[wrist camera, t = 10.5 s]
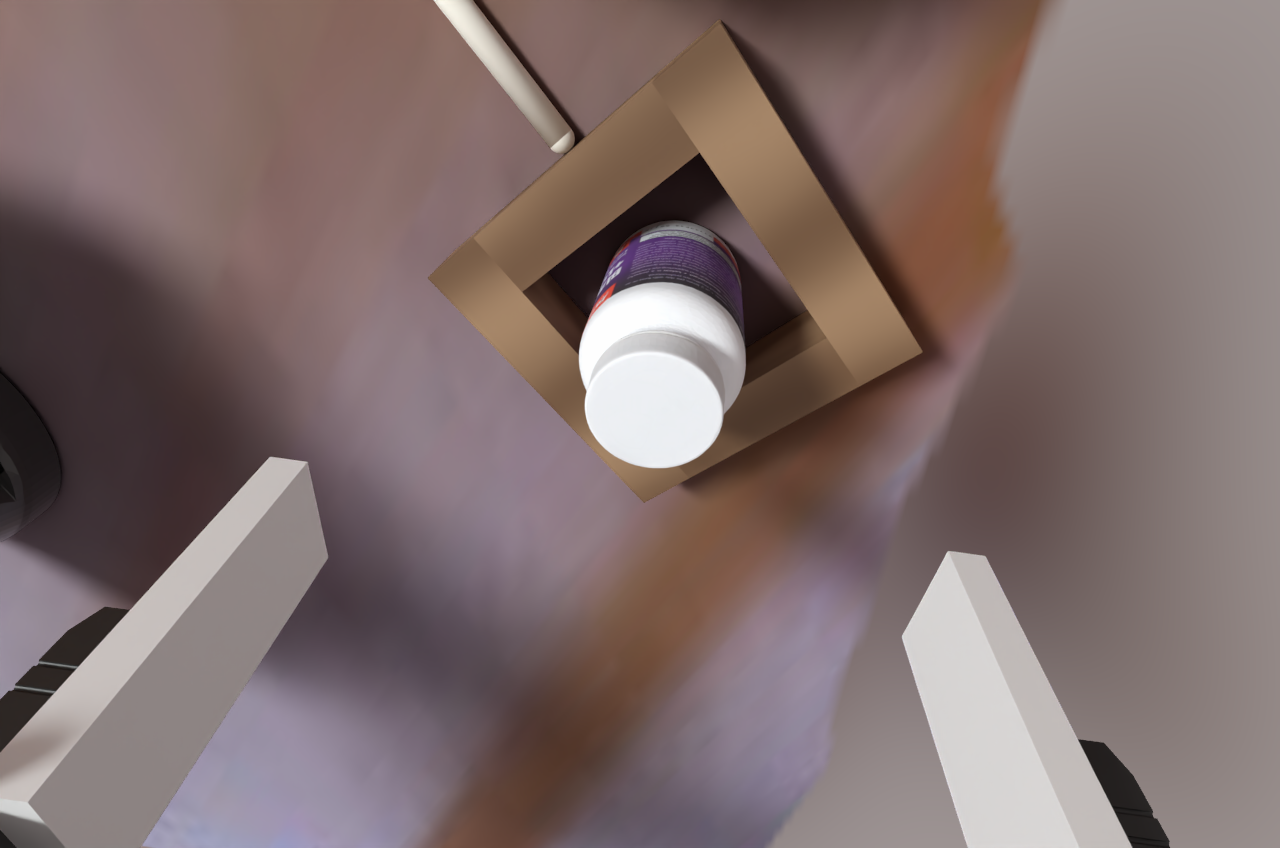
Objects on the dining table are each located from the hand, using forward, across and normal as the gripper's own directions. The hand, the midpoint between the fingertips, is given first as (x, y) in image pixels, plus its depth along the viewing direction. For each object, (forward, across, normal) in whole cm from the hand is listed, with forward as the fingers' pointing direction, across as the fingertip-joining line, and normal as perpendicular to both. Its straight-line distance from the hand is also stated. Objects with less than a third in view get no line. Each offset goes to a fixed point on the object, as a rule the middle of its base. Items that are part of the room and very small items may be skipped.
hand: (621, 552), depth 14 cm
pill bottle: (+16, +1, 0) cm, 16 cm away
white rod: (+15, -8, +8) cm, 19 cm away
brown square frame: (+15, +1, 0) cm, 15 cm away
